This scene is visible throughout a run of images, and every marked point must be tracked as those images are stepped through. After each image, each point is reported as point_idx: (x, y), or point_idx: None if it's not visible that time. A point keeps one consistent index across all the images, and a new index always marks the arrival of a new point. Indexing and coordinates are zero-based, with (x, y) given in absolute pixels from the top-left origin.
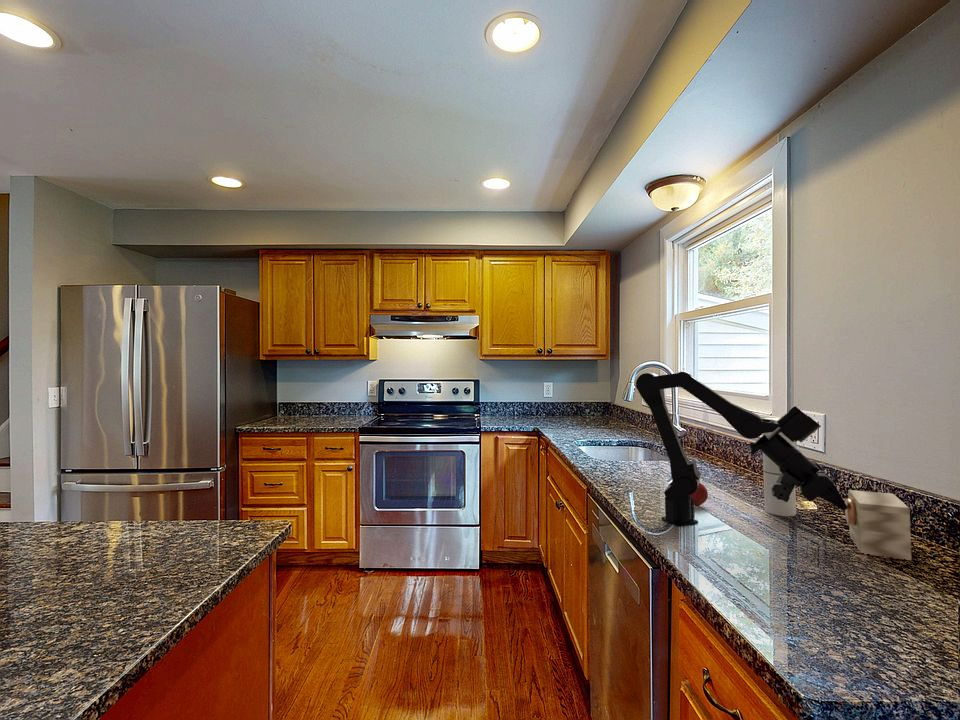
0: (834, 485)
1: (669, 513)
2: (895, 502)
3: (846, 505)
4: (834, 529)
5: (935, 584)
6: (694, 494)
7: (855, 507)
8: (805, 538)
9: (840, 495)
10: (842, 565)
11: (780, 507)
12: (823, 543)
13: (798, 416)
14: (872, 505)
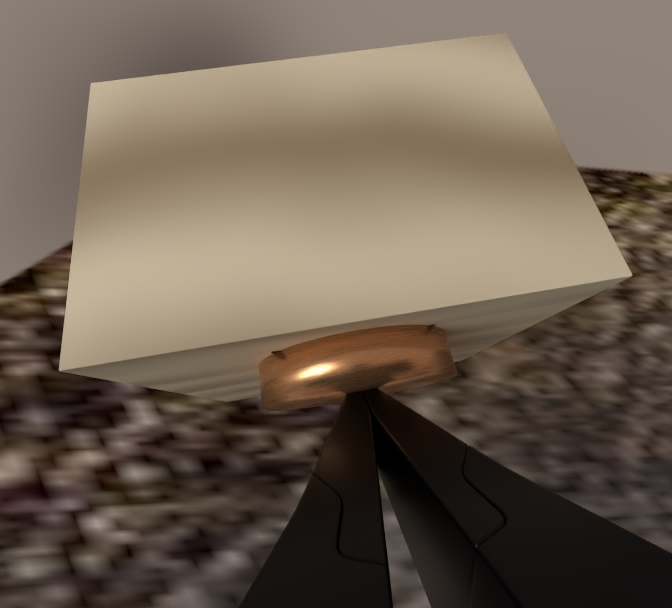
0: (650, 549)
1: None
2: (396, 80)
3: (382, 392)
4: (155, 467)
5: (597, 193)
6: None
7: (440, 330)
8: (395, 599)
9: (456, 438)
10: (659, 420)
11: None
12: None
13: None
14: (583, 199)
